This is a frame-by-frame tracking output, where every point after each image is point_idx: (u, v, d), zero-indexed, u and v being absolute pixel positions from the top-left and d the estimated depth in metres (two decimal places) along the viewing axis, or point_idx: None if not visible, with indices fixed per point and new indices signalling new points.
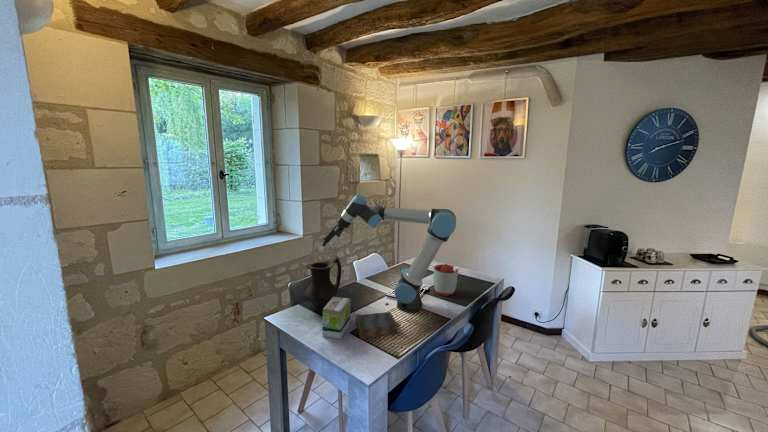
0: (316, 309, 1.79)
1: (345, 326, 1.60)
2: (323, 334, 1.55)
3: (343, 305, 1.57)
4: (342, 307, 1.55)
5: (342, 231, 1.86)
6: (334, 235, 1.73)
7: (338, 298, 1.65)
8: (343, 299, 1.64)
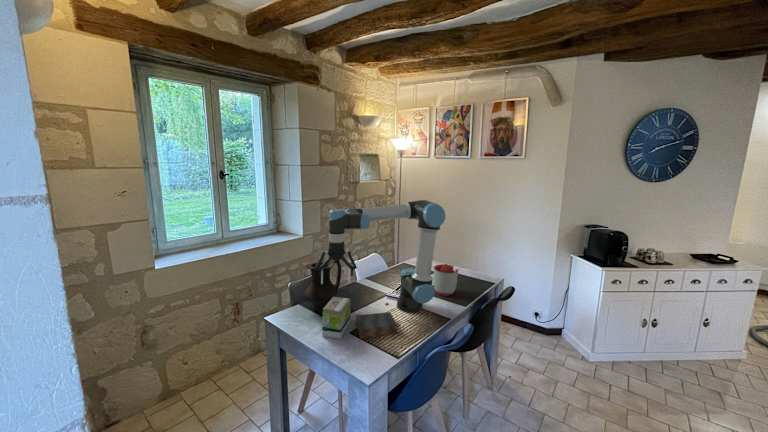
0: (316, 309, 1.79)
1: (345, 326, 1.60)
2: (323, 334, 1.55)
3: (343, 305, 1.57)
4: (342, 307, 1.55)
5: (318, 262, 1.56)
6: None
7: (338, 298, 1.65)
8: (343, 299, 1.64)
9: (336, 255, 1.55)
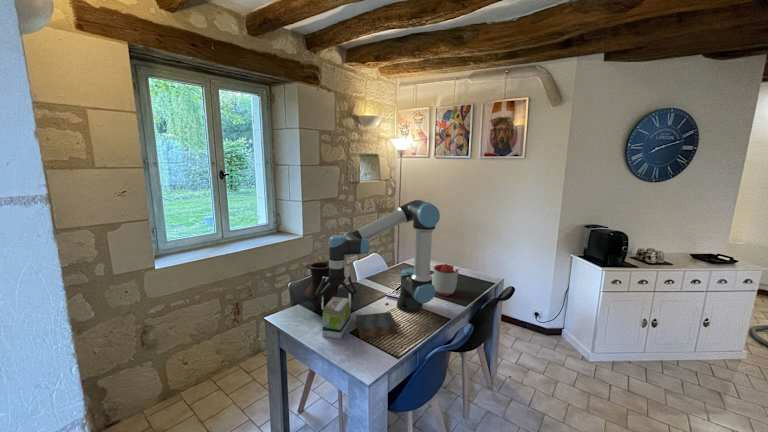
0: (316, 309, 1.79)
1: (345, 326, 1.60)
2: (323, 334, 1.55)
3: (343, 305, 1.57)
4: (342, 307, 1.55)
5: None
6: None
7: (338, 298, 1.65)
8: (343, 299, 1.64)
9: (336, 281, 1.56)
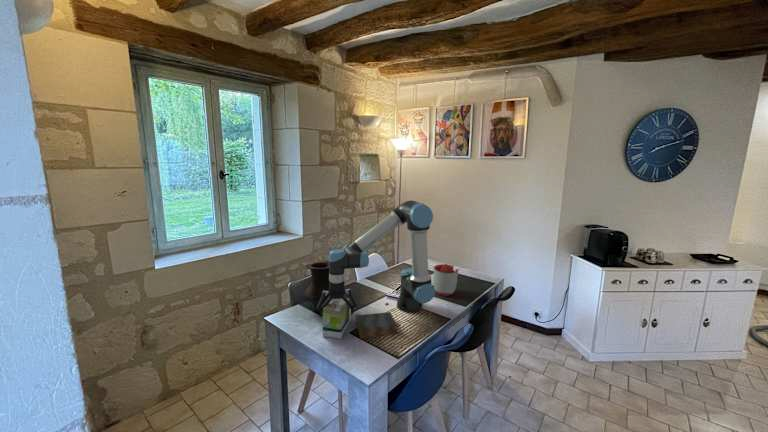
0: (316, 309, 1.79)
1: (345, 326, 1.60)
2: (323, 334, 1.55)
3: (343, 305, 1.57)
4: (342, 307, 1.55)
5: None
6: None
7: None
8: None
9: (337, 294, 1.57)
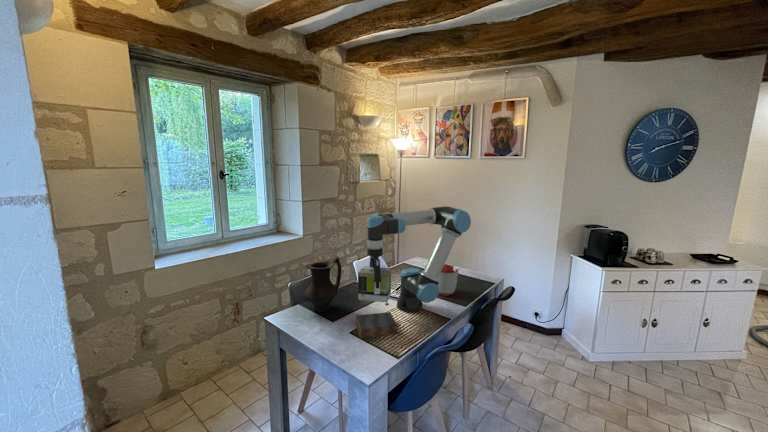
0: (316, 309, 1.79)
1: None
2: (387, 300, 1.56)
3: None
4: None
5: (375, 275, 1.50)
6: (371, 263, 1.63)
7: (363, 270, 1.59)
8: (365, 268, 1.61)
9: None
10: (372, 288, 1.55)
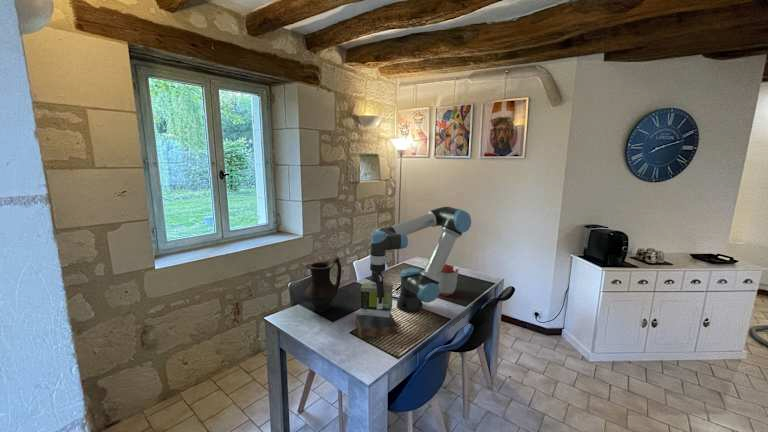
0: (316, 309, 1.79)
1: None
2: (389, 315, 1.58)
3: None
4: (384, 282, 1.64)
5: (378, 291, 1.52)
6: (372, 278, 1.64)
7: (366, 284, 1.60)
8: (367, 282, 1.63)
9: None
10: (375, 303, 1.57)
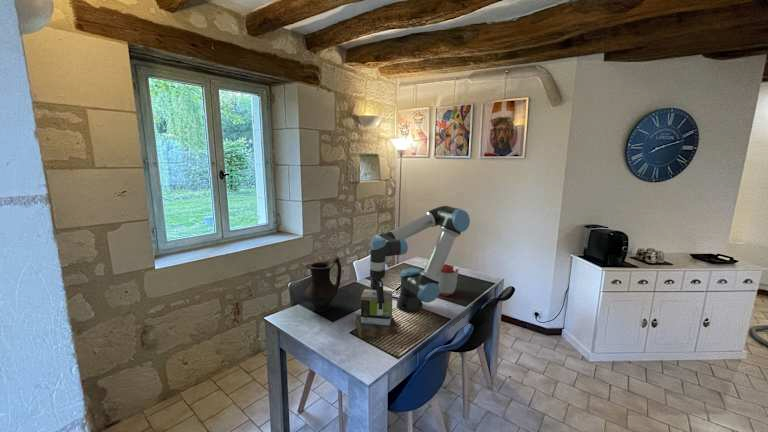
0: (316, 309, 1.79)
1: None
2: None
3: None
4: (384, 290, 1.65)
5: (378, 297, 1.52)
6: (372, 283, 1.65)
7: (366, 293, 1.61)
8: (367, 291, 1.64)
9: None
10: (375, 312, 1.58)
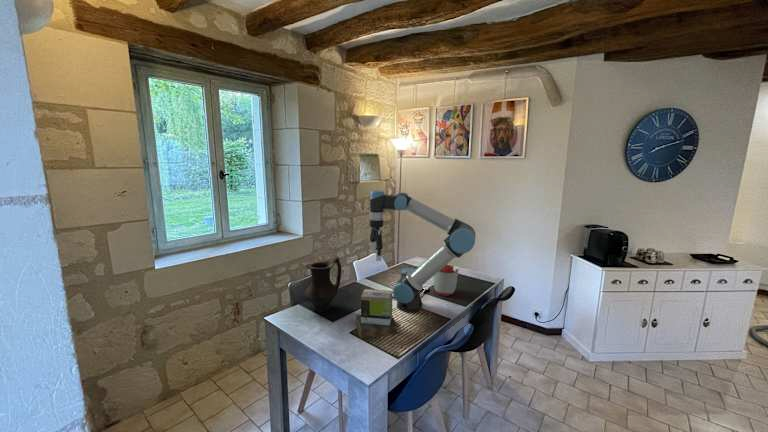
0: (316, 309, 1.79)
1: None
2: None
3: (381, 290, 1.65)
4: (384, 290, 1.65)
5: (377, 243, 1.66)
6: (372, 234, 1.78)
7: (366, 293, 1.61)
8: (367, 291, 1.64)
9: None
10: (375, 312, 1.58)
